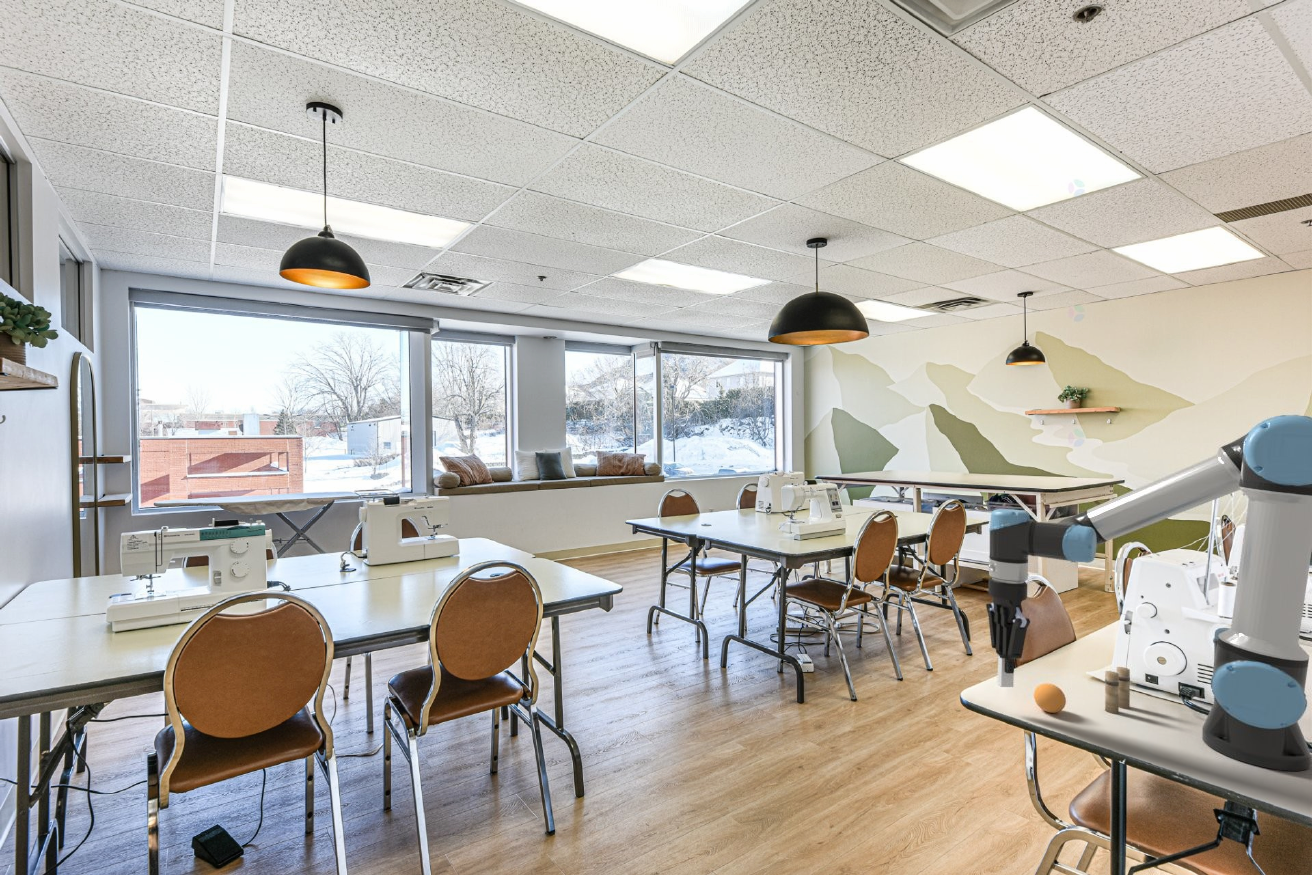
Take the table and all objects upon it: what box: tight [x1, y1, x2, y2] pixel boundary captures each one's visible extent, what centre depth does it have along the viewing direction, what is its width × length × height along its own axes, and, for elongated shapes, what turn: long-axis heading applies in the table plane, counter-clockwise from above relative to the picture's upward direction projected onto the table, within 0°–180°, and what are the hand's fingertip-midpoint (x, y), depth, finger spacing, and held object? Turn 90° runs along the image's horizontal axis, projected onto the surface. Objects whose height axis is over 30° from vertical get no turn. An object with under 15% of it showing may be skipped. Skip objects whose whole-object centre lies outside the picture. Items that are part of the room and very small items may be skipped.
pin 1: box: [1104, 670, 1120, 715], centre depth 139 cm, size 2×2×8 cm
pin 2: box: [1116, 666, 1131, 710], centre depth 141 cm, size 2×2×8 cm
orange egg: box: [1033, 682, 1067, 714], centre depth 138 cm, size 6×6×6 cm
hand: (1005, 685), depth 138 cm, fingers closed
